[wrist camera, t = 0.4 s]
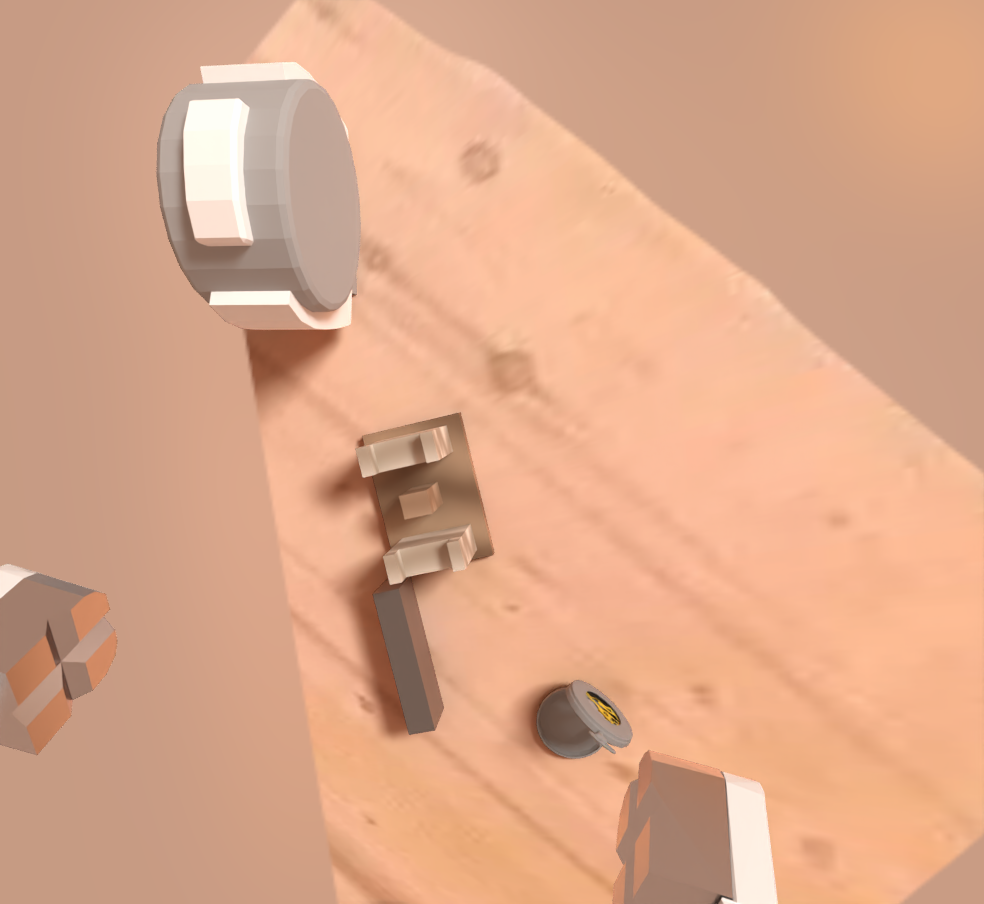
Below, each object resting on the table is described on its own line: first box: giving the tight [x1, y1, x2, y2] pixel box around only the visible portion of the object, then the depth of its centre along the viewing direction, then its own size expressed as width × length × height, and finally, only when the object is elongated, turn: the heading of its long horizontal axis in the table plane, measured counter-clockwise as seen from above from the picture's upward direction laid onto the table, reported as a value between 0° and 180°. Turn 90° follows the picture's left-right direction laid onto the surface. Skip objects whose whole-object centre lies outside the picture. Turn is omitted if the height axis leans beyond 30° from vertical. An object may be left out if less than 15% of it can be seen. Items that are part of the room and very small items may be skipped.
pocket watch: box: [537, 680, 633, 758], centre depth 58 cm, size 8×8×10 cm
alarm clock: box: [157, 62, 361, 330], centre depth 51 cm, size 18×8×20 cm, turn 0°
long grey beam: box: [373, 576, 444, 735], centre depth 62 cm, size 13×2×4 cm, turn 14°
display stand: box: [355, 412, 494, 585], centre depth 59 cm, size 13×9×8 cm
